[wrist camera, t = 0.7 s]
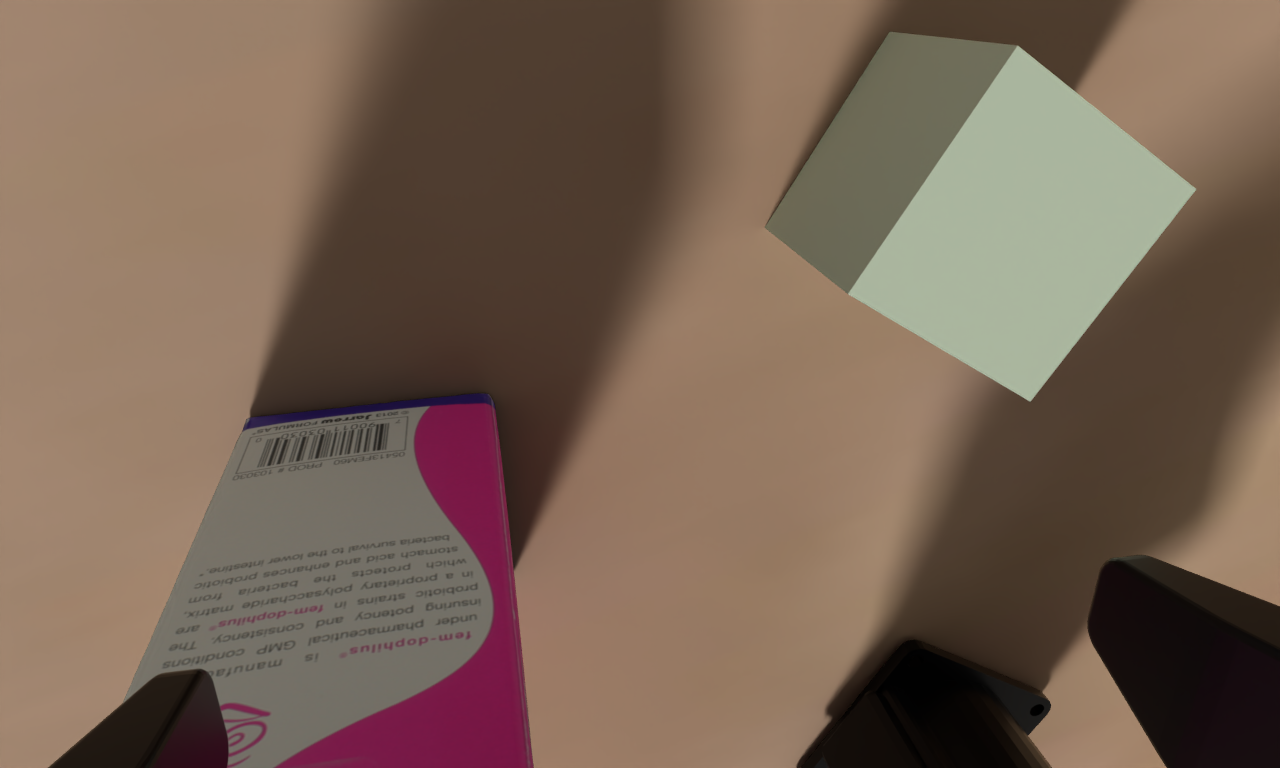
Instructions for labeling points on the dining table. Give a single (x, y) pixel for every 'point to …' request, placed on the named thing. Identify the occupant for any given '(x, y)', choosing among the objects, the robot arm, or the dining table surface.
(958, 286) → the sage cube
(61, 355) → the dining table surface
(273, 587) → the supplement box
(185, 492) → the dining table surface
